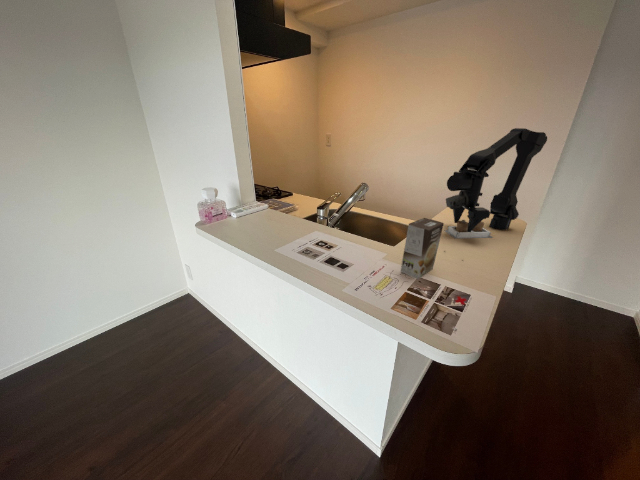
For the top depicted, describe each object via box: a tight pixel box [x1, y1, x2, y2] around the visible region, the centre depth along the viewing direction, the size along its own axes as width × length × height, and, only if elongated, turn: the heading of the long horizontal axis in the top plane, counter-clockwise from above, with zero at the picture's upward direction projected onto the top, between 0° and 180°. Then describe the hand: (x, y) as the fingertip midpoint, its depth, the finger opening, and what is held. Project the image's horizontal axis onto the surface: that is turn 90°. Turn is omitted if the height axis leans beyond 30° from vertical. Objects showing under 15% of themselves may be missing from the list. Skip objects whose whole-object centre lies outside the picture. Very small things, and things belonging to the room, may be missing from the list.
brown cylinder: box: [455, 219, 469, 232], centre depth 104 cm, size 4×4×6 cm
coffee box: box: [400, 217, 444, 280], centre depth 77 cm, size 9×6×16 cm
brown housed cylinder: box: [472, 220, 485, 232], centre depth 104 cm, size 4×4×6 cm
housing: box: [443, 225, 494, 240], centre depth 105 cm, size 16×8×3 cm, turn 94°
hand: (462, 227), depth 104 cm, fingers open, 9 cm apart
